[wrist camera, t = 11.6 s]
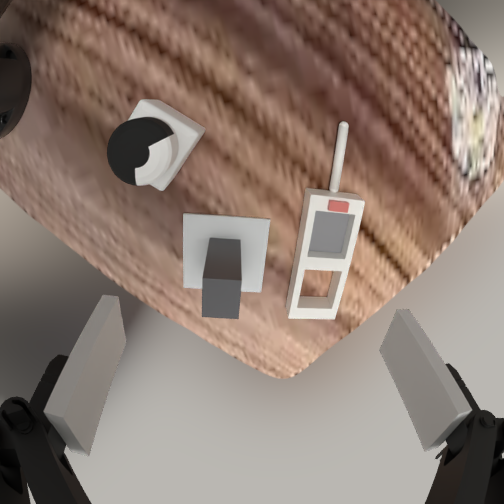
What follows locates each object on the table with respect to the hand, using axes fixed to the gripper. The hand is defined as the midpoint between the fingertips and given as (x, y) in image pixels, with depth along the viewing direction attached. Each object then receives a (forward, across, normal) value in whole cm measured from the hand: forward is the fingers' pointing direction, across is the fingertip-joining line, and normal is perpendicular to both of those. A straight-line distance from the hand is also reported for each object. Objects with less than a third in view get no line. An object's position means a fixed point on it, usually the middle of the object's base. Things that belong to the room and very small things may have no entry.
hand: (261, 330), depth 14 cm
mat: (+27, -2, -10) cm, 29 cm away
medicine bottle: (+27, -10, +5) cm, 29 cm away
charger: (+26, -2, -10) cm, 28 cm away
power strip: (+27, +11, -4) cm, 29 cm away
